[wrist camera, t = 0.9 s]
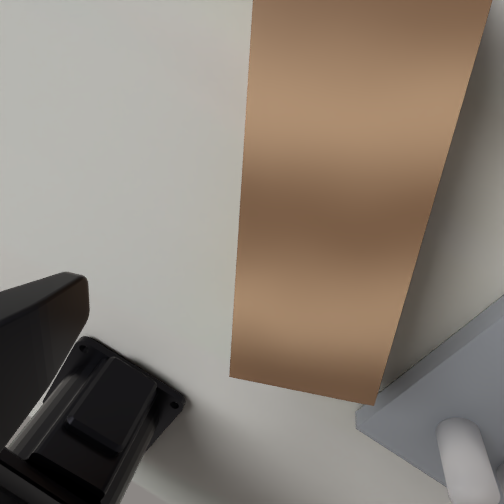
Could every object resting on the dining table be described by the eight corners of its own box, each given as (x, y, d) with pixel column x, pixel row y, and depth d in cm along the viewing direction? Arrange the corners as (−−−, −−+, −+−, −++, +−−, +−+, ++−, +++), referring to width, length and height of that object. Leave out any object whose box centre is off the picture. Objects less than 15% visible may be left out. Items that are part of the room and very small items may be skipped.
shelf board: (369, 337, 19) (373, 406, 16) (250, 316, 20) (229, 376, 17) (465, -34, 13) (508, -56, 9) (281, -44, 13) (257, -69, 10)
